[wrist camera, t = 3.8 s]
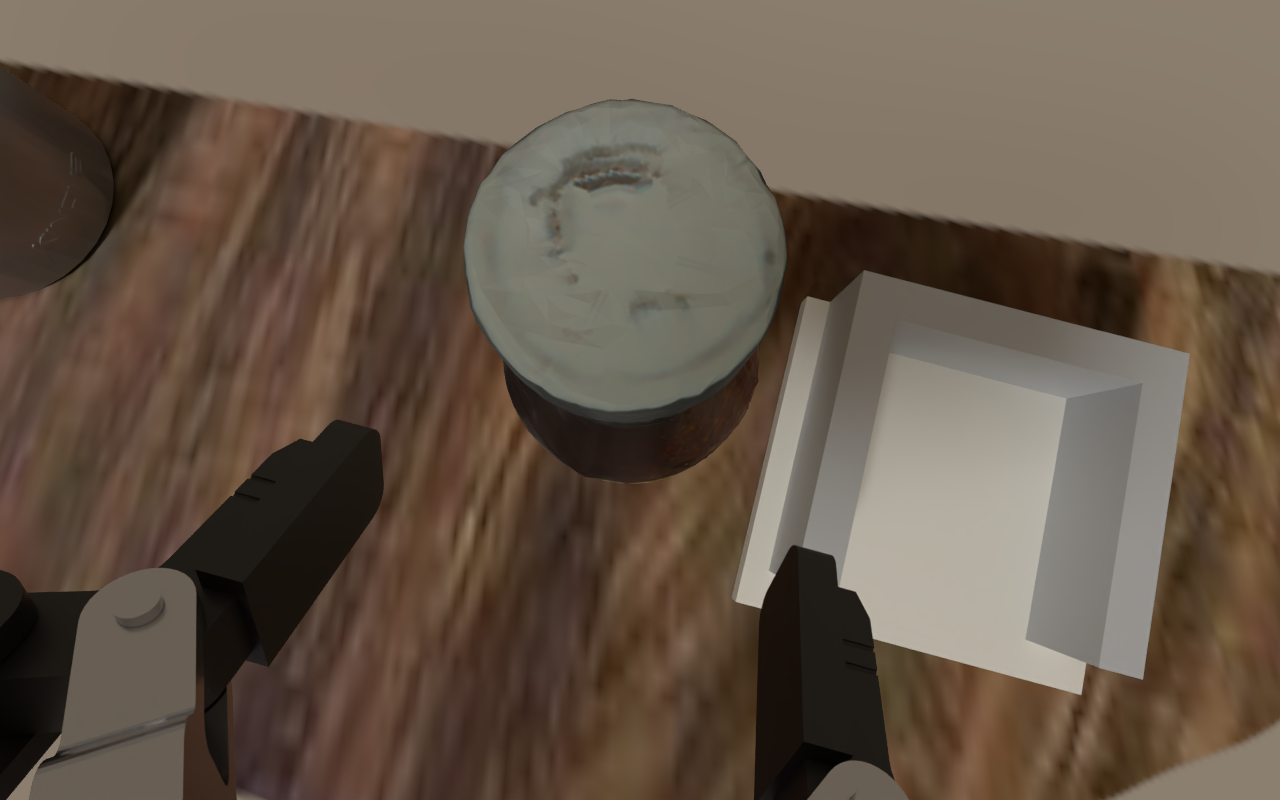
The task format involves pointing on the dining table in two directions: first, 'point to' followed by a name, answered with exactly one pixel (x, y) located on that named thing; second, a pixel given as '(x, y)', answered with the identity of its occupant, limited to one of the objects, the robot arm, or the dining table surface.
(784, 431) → the white open tray
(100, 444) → the dining table surface
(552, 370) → the sauce bottle
